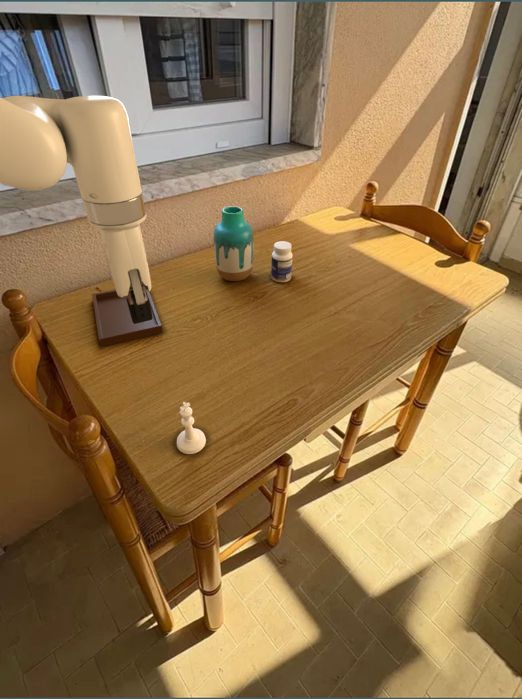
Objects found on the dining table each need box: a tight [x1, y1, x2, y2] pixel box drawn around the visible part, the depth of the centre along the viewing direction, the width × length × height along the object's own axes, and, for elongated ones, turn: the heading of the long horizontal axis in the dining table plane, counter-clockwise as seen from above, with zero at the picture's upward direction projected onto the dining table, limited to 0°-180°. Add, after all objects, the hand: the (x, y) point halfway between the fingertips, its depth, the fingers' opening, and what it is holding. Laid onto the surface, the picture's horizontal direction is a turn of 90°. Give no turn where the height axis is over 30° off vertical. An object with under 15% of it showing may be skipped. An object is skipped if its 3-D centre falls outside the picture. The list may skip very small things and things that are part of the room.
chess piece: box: [176, 401, 207, 455], centre depth 62 cm, size 5×5×10 cm
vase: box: [213, 205, 255, 282], centre depth 101 cm, size 11×11×19 cm
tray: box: [91, 289, 164, 348], centre depth 92 cm, size 14×20×2 cm
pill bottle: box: [270, 240, 294, 283], centre depth 104 cm, size 6×6×10 cm
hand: (142, 319), depth 63 cm, fingers closed
